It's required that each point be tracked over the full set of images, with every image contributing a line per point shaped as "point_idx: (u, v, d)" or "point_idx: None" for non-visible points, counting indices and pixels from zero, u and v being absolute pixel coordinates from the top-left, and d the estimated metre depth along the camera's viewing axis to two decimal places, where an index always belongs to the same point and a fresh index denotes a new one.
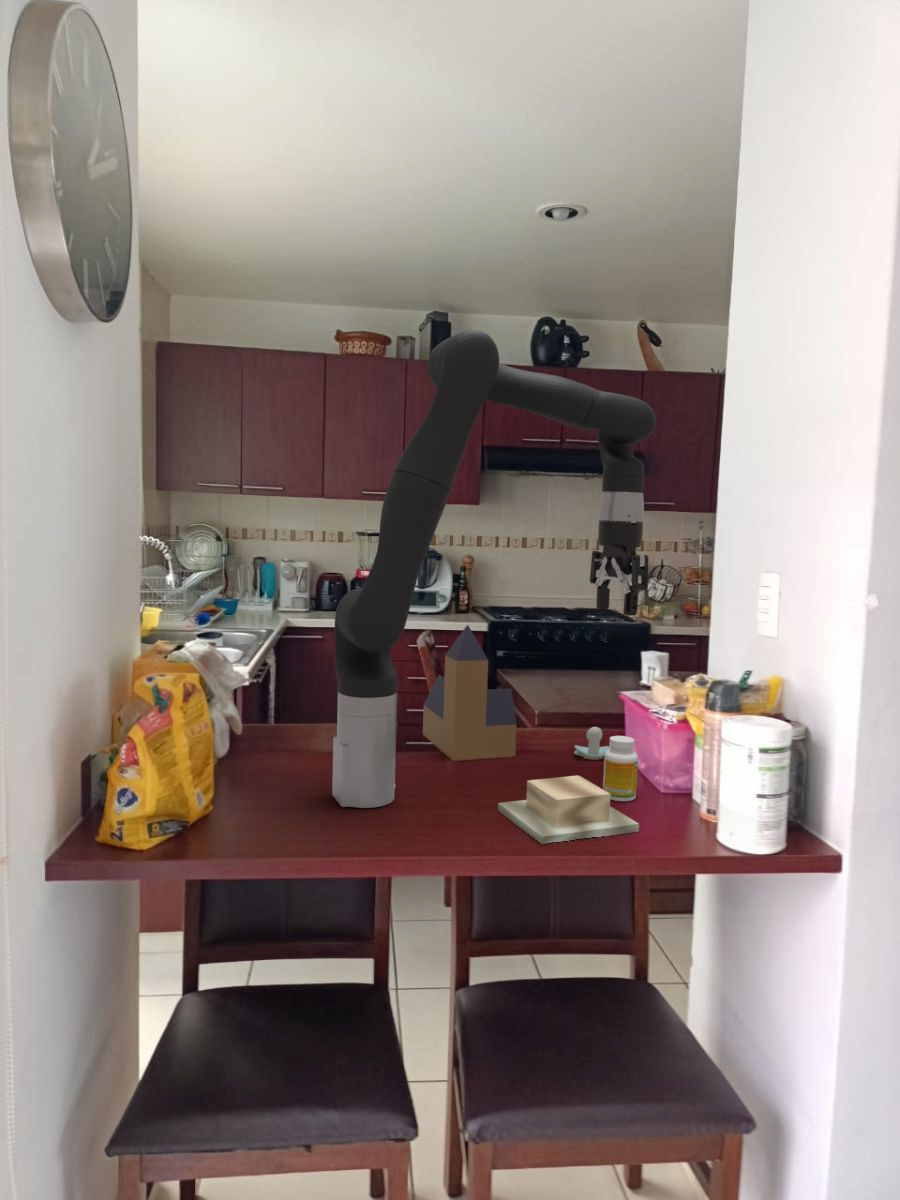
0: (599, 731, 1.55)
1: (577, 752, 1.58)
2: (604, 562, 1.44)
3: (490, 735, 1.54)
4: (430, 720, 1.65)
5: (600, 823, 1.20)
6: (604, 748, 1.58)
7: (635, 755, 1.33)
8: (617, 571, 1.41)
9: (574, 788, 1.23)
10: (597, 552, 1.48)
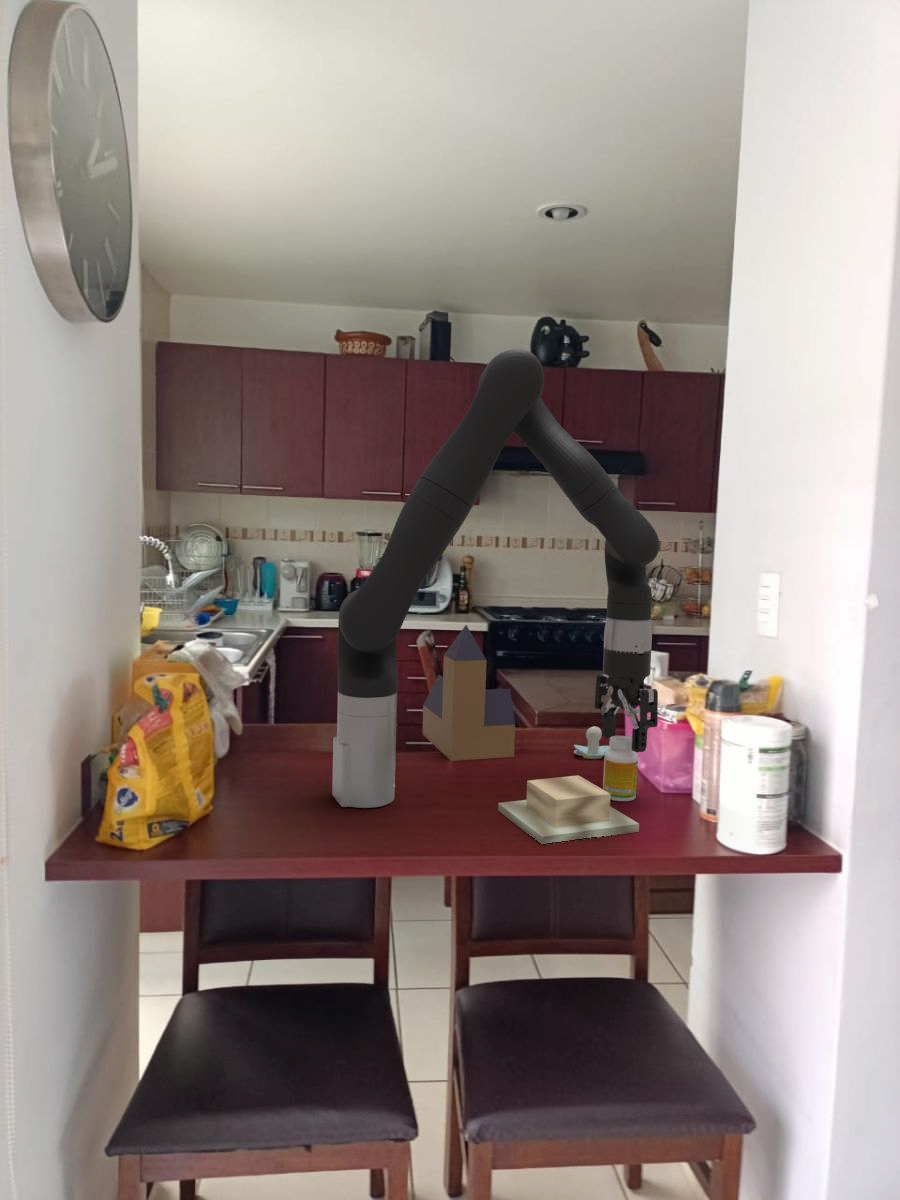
0: (598, 731, 1.56)
1: (576, 751, 1.58)
2: (610, 691, 1.34)
3: (489, 735, 1.54)
4: (429, 720, 1.65)
5: (600, 823, 1.20)
6: (604, 747, 1.59)
7: (635, 755, 1.33)
8: (624, 704, 1.31)
9: (574, 788, 1.23)
10: (602, 676, 1.38)
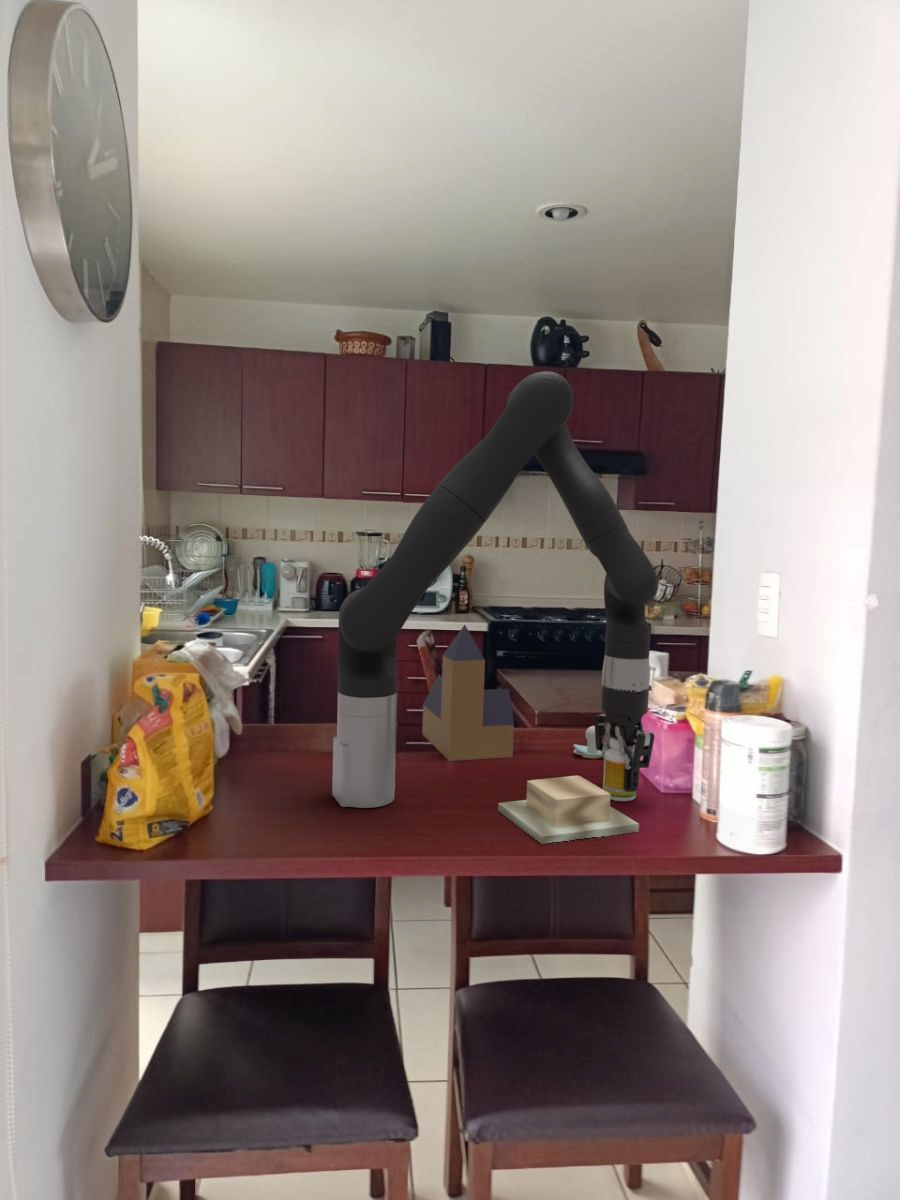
0: None
1: (576, 751, 1.59)
2: (608, 728, 1.35)
3: (487, 735, 1.54)
4: (429, 720, 1.65)
5: (600, 823, 1.20)
6: None
7: None
8: (619, 742, 1.32)
9: (574, 788, 1.23)
10: (599, 716, 1.39)
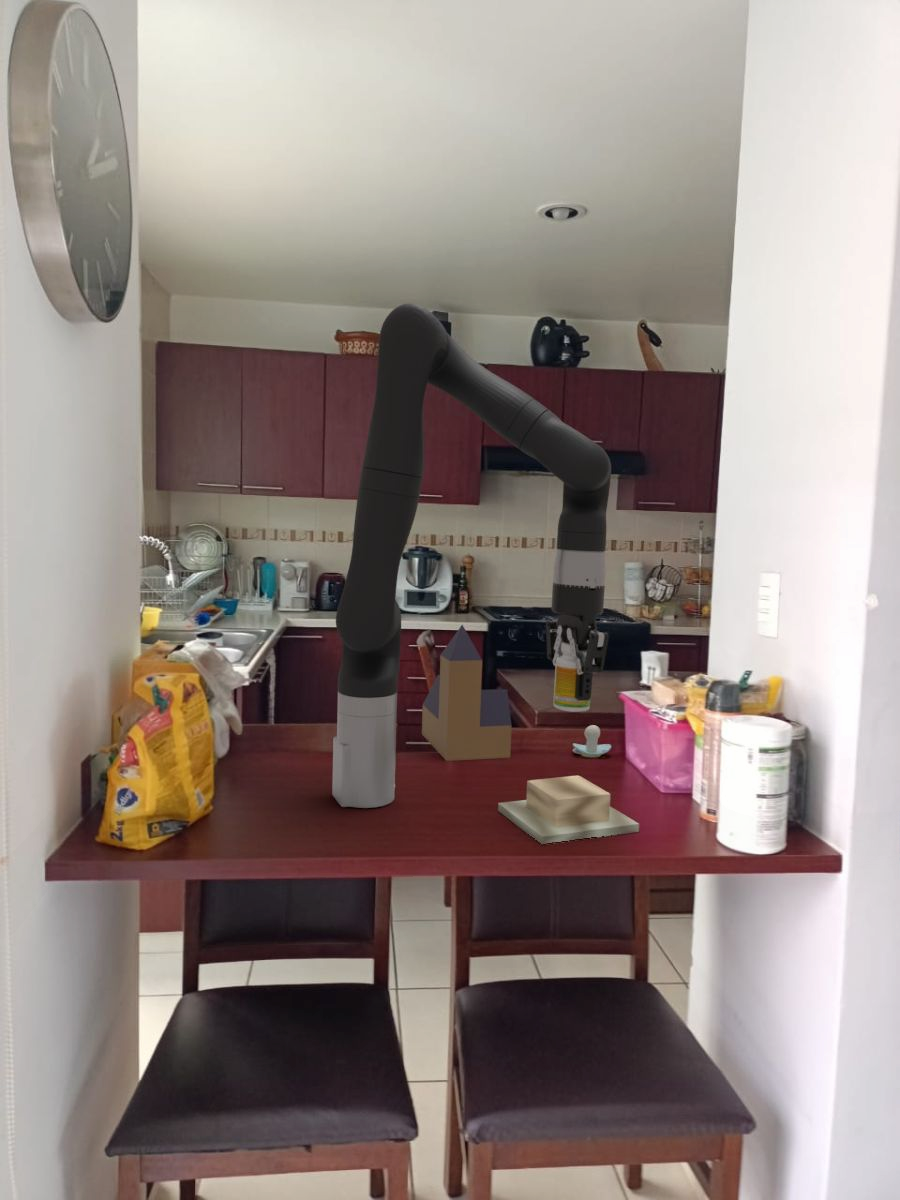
0: (597, 729, 1.57)
1: (575, 750, 1.59)
2: (559, 632, 1.22)
3: (485, 736, 1.54)
4: (428, 720, 1.65)
5: (600, 823, 1.20)
6: (602, 746, 1.60)
7: None
8: (571, 645, 1.19)
9: (574, 788, 1.23)
10: (551, 622, 1.26)
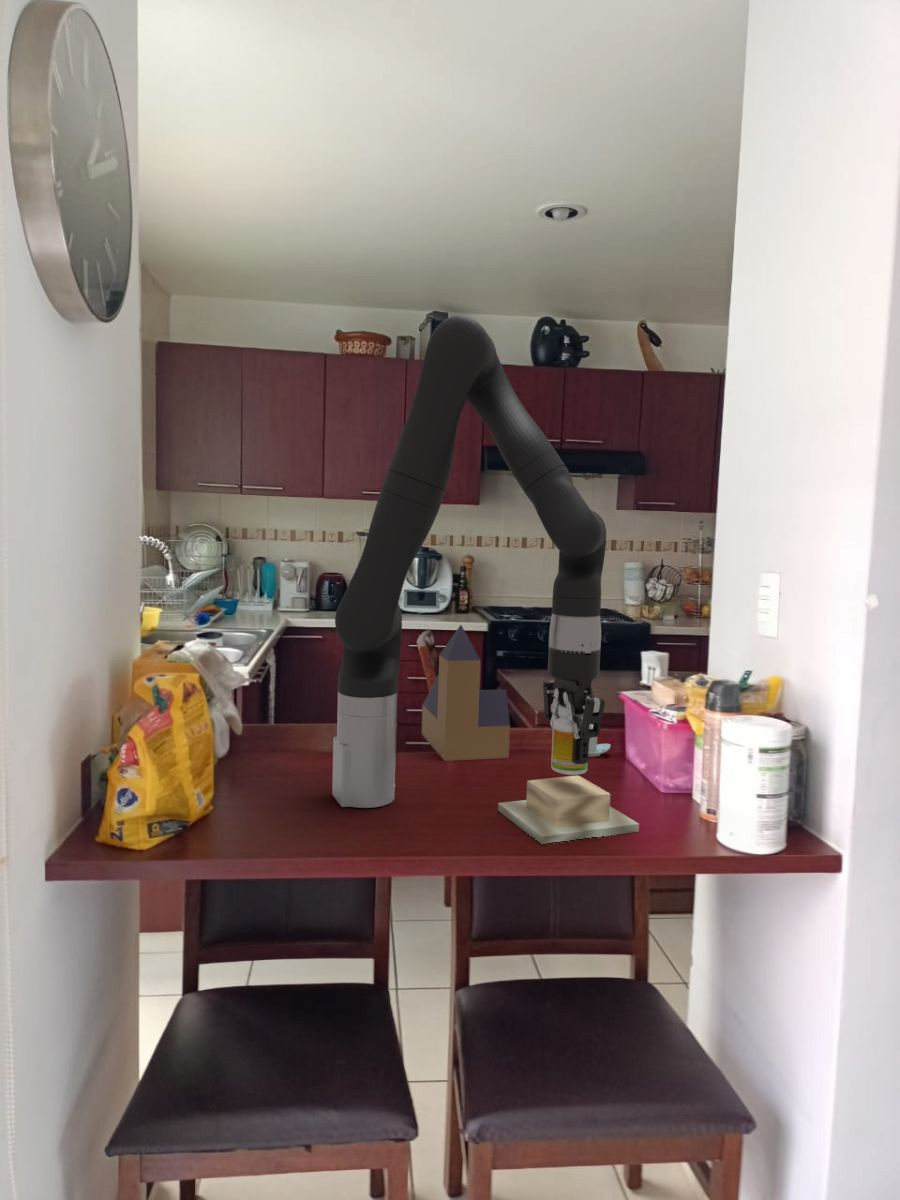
0: None
1: None
2: (556, 695, 1.22)
3: (483, 736, 1.53)
4: (427, 720, 1.65)
5: (600, 823, 1.20)
6: (602, 745, 1.60)
7: None
8: (568, 709, 1.20)
9: (574, 788, 1.23)
10: (548, 683, 1.27)
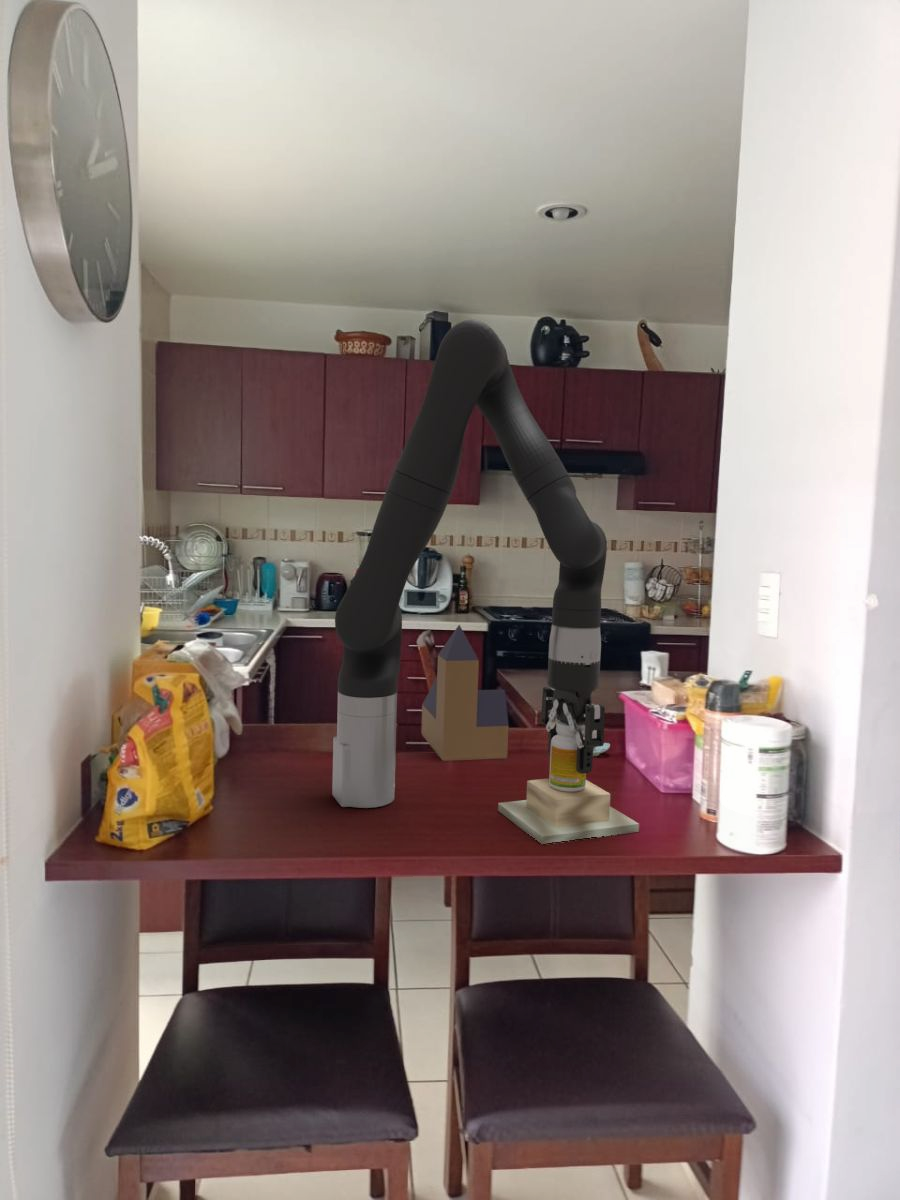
0: None
1: None
2: (555, 705, 1.22)
3: (481, 736, 1.53)
4: (426, 720, 1.65)
5: (600, 823, 1.20)
6: None
7: None
8: (569, 720, 1.19)
9: None
10: (548, 689, 1.27)
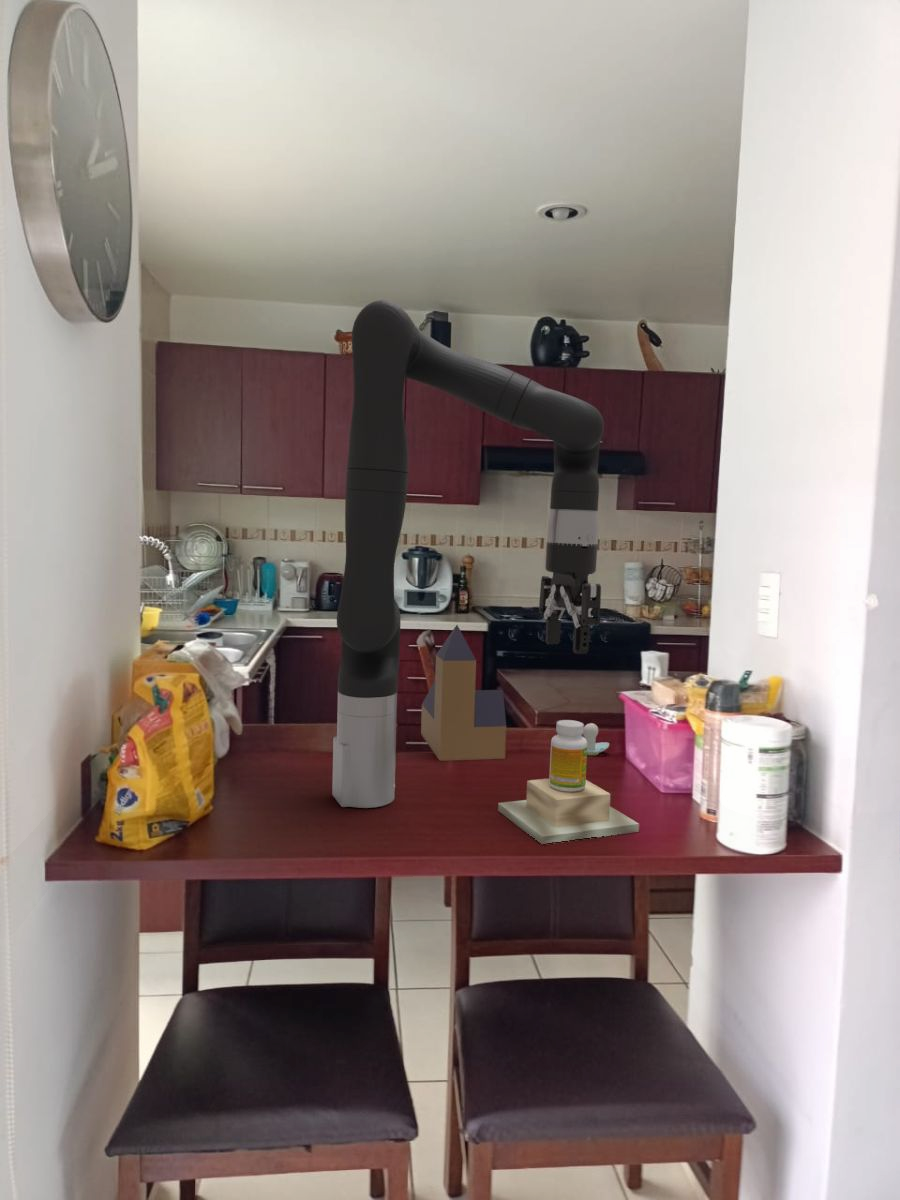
0: (595, 727, 1.58)
1: None
2: (553, 590, 1.24)
3: (479, 736, 1.53)
4: (426, 720, 1.65)
5: (600, 823, 1.20)
6: (600, 744, 1.61)
7: (584, 741, 1.21)
8: (566, 602, 1.21)
9: None
10: (547, 578, 1.28)
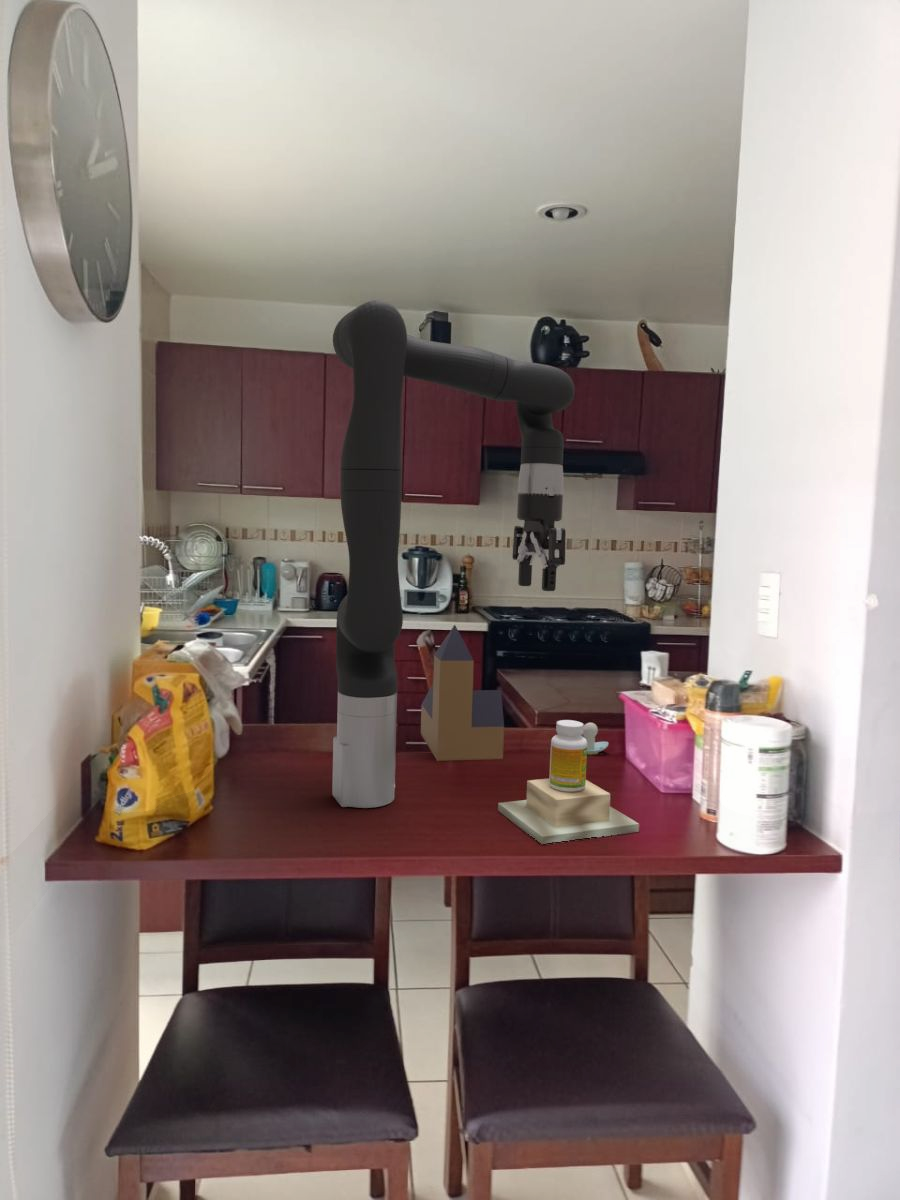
0: (594, 727, 1.59)
1: None
2: (524, 537, 1.40)
3: (476, 736, 1.53)
4: (425, 719, 1.65)
5: (600, 823, 1.20)
6: (600, 743, 1.62)
7: (584, 741, 1.21)
8: (535, 545, 1.37)
9: None
10: (519, 527, 1.44)
